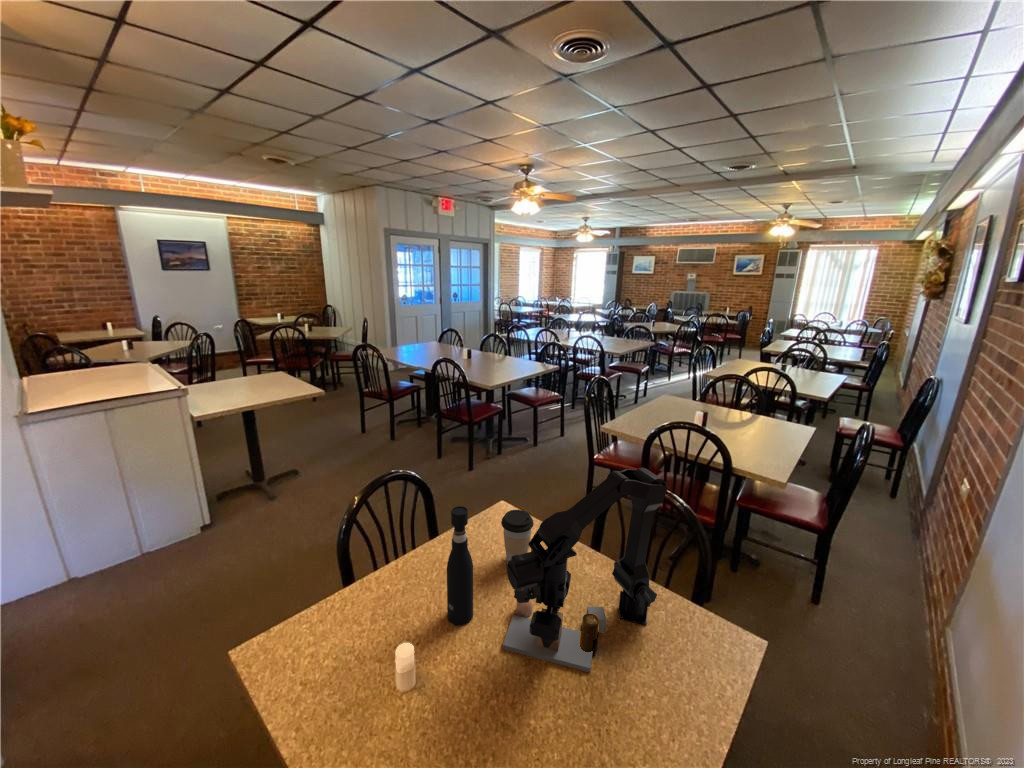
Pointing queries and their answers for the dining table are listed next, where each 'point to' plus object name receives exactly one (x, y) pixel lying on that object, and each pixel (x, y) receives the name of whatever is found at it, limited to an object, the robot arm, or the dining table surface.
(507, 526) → the coffee cup
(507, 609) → the dining table surface
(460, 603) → the black water bottle
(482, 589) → the dining table surface
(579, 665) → the slate board
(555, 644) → the walnut block
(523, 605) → the terracotta cylinder
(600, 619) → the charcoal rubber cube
